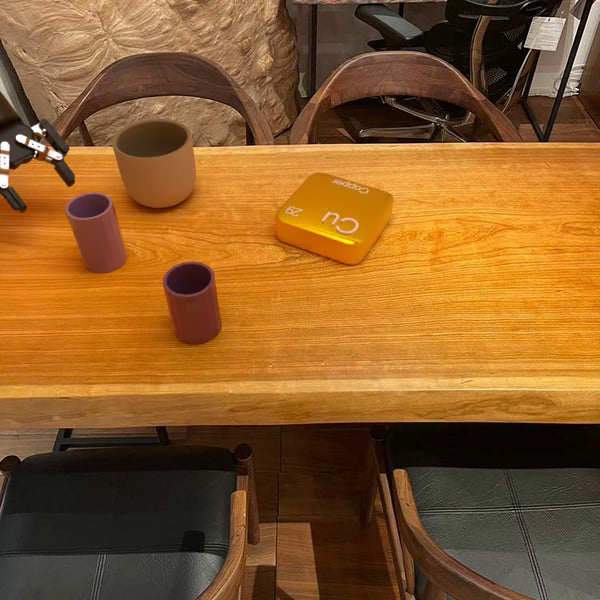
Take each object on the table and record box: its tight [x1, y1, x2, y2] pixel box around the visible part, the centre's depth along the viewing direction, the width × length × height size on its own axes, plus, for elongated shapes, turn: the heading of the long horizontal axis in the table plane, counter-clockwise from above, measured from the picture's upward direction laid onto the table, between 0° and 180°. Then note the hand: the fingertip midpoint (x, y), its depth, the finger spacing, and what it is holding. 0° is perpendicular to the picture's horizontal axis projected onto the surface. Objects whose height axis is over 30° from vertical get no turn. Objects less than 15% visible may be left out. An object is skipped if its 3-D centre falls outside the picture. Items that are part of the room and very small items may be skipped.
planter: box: [111, 117, 197, 209], centre depth 97 cm, size 12×12×11 cm
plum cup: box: [162, 261, 222, 345], centre depth 77 cm, size 6×6×9 cm
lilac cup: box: [64, 191, 128, 274], centre depth 86 cm, size 6×6×10 cm
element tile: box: [274, 171, 394, 265], centre depth 93 cm, size 15×15×5 cm
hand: (49, 197), depth 90 cm, fingers open, 8 cm apart
